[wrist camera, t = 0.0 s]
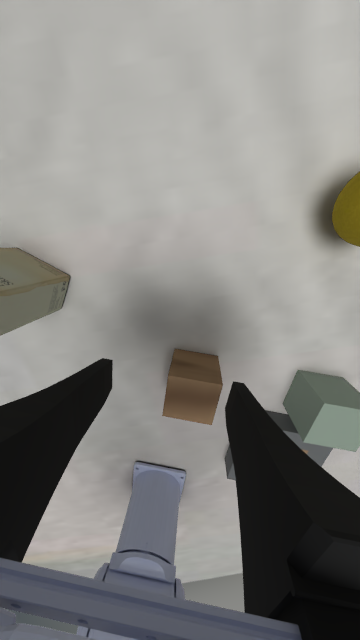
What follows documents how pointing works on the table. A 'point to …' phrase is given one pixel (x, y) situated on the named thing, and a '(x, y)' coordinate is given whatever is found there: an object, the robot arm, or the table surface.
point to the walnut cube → (193, 387)
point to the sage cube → (324, 410)
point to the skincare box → (28, 289)
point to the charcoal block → (287, 426)
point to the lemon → (348, 212)
